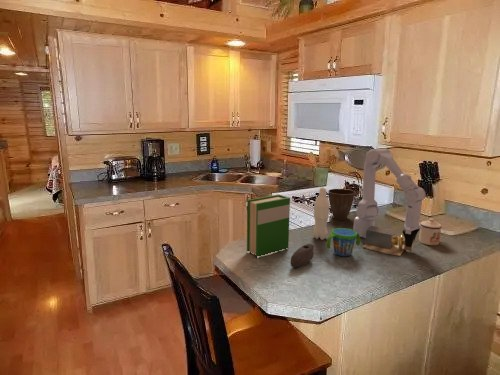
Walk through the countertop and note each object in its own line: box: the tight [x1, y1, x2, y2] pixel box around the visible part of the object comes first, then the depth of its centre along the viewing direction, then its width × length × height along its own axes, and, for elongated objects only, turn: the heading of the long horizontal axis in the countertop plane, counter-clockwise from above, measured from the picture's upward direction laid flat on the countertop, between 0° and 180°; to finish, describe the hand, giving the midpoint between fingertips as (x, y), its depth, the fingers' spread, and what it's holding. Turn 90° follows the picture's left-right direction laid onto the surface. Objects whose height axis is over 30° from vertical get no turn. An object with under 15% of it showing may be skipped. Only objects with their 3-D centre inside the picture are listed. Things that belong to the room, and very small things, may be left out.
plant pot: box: [327, 188, 356, 221], centre depth 199 cm, size 15×15×16 cm
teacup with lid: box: [418, 218, 443, 246], centre depth 164 cm, size 12×9×12 cm
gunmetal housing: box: [364, 225, 396, 250], centre depth 159 cm, size 11×7×7 cm, turn 55°
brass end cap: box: [391, 234, 415, 252], centre depth 155 cm, size 15×6×8 cm, turn 55°
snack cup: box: [326, 227, 361, 257], centre depth 150 cm, size 16×10×10 cm
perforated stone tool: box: [290, 243, 315, 269], centre depth 140 cm, size 15×5×7 cm, turn 138°
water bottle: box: [312, 187, 330, 241], centre depth 167 cm, size 7×7×25 cm
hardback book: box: [246, 194, 291, 257], centre depth 150 cm, size 18×7×24 cm, turn 126°
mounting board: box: [362, 244, 405, 257], centre depth 159 cm, size 16×14×1 cm
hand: (409, 244), depth 152 cm, fingers closed on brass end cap, 4 cm apart
